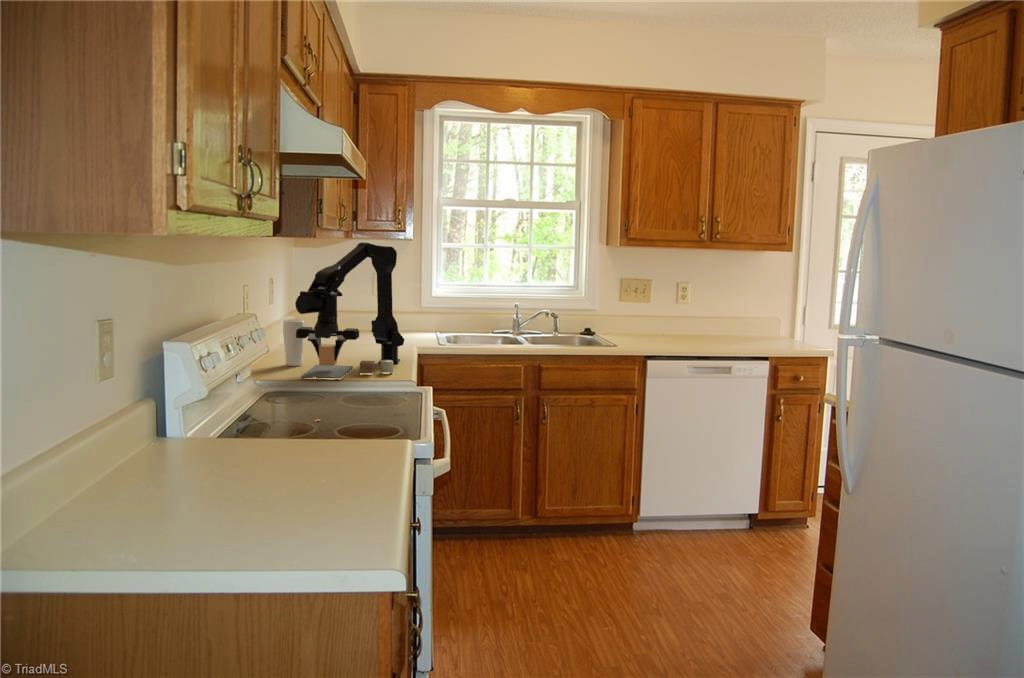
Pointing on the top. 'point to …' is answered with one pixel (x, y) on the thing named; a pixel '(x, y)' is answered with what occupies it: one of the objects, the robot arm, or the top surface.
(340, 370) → the slate mat
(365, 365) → the walnut block
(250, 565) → the top surface
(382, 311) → the robot arm
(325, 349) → the terracotta block
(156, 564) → the top surface
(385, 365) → the sage cylinder
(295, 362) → the drinking glass
